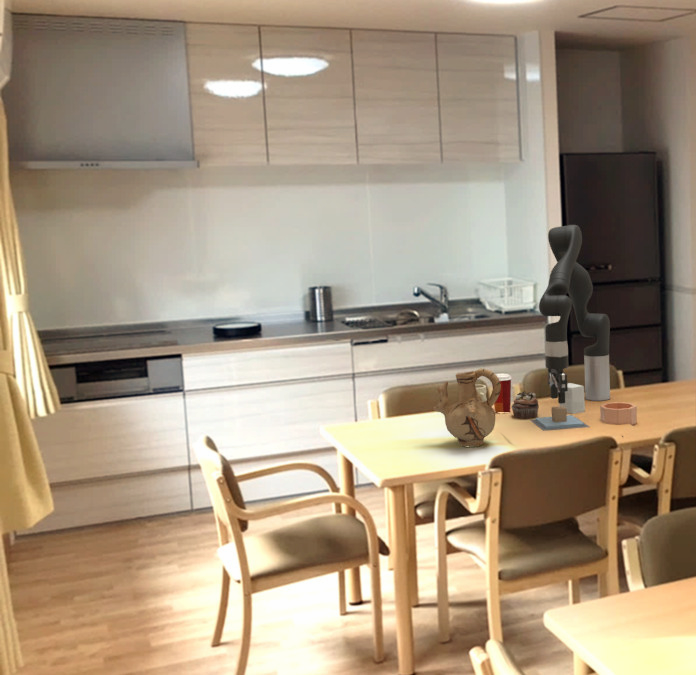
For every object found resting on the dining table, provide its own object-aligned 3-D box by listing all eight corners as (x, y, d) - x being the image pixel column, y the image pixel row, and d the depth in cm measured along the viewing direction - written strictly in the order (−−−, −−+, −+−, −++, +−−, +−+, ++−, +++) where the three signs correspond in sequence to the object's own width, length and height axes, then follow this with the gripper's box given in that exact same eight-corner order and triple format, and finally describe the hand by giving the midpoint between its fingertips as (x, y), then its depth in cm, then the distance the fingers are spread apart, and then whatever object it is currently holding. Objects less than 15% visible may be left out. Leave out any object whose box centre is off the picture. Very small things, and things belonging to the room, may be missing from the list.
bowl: (597, 420, 298) (596, 403, 297) (628, 418, 299) (627, 401, 298) (608, 427, 287) (608, 410, 286) (640, 425, 288) (640, 407, 287)
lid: (535, 420, 300) (534, 405, 299) (571, 417, 301) (571, 402, 300) (546, 429, 287) (545, 413, 286) (584, 426, 288) (583, 410, 287)
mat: (530, 422, 301) (530, 420, 301) (574, 419, 302) (574, 416, 302) (543, 433, 286) (543, 430, 285) (590, 429, 286) (590, 426, 286)
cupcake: (541, 416, 310) (540, 389, 308) (536, 422, 301) (534, 395, 300) (515, 415, 314) (514, 388, 312) (509, 421, 305) (508, 394, 304)
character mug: (493, 423, 304) (492, 387, 303) (475, 425, 302) (474, 389, 301) (479, 417, 315) (478, 382, 313) (462, 419, 313) (460, 385, 311)
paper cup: (512, 409, 324) (510, 372, 323) (514, 413, 317) (512, 376, 315) (491, 410, 325) (489, 373, 323) (492, 414, 318) (491, 377, 316)
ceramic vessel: (479, 434, 290) (475, 361, 287) (513, 445, 273) (510, 368, 270) (433, 443, 283) (429, 369, 279) (466, 455, 265) (461, 376, 262)
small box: (585, 414, 309) (584, 385, 307) (572, 416, 307) (571, 387, 305) (571, 410, 316) (570, 382, 315) (559, 412, 314) (558, 384, 313)
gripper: (539, 351, 298) (541, 397, 300) (552, 357, 283) (553, 405, 285) (561, 350, 298) (562, 396, 300) (574, 356, 284) (575, 404, 286)
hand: (558, 400), depth 293 cm, fingers open, 8 cm apart
